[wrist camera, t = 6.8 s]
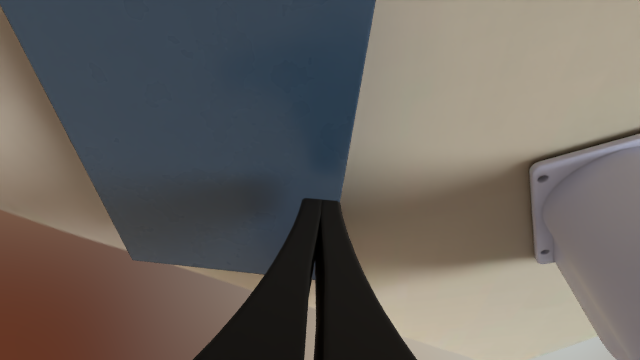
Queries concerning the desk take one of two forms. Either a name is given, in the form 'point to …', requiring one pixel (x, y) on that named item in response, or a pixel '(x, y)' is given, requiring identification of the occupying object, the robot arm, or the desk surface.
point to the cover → (202, 114)
